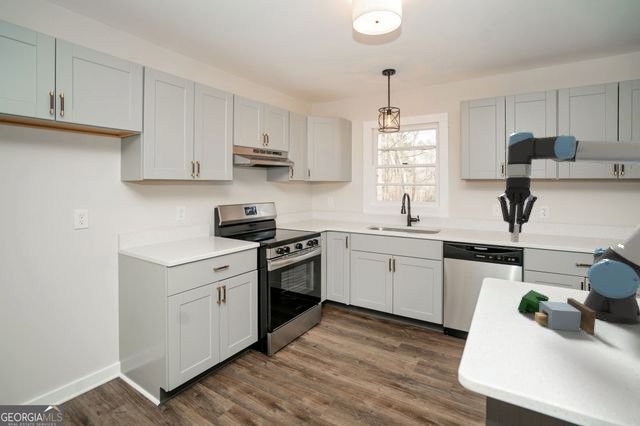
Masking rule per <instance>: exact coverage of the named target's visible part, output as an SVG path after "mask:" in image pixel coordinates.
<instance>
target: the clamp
mask: <svg viewBox="0 0 640 426" xmlns="http://www.w3.org/2000/svg"><path fill="white" fill-rule="evenodd" d="M549 299H550V298H549V297H548V296H547V295H545V294H542V293H540V292H537V291H536V290H534V289H533V290H532V289H530V290H529V291H528V292H526V294H524V295H523V296H522V297H521V300H520V302H519V305H518V307H517V311H520V312H522V313H526V312H527V311H530V312H532V313H534V314H535V312H537V313H539V306H540V301H547V302H549Z"/></svg>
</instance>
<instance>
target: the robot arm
mask: <svg viewBox="0 0 640 426" xmlns="http://www.w3.org/2000/svg"><path fill="white" fill-rule="evenodd" d="M533 160H536V161H537V160H552V161H553V162H556V163H558V162H559V163H564V162H565V163H566V162H567V163H569V162H570V163H589V164H591V163H592V164H593V163H594V164H608V165H625V166H626V165H627V166H629V165H630V166H640V141H639V140H638V141H637V140H635V141H634V140H633V141H632V140H630V141H629V140H627V141H626V140H625V141H624V140H621V141H620V140H576V137H575V136H574V135H555V136H546V137H534V133H533V132H531V131H530V132H529V131H526V132H515V133H512V134H510V135H509V138H508V144H507V165H506V177H507V178H506V179H505V180H506V181H505V190H504V193H503V194H501V195H498V196H497V199H498V202H500V208H501V214H502V219H503V221H504V222H505V223H507V224H508V232H509V233H510V242H512V243H519V236H520V234H521V233H522V231H523V230H522V228H523V227H522V226H523V225H524V224H525V223H528V222H529V219H530V216H531V213H532V210H533V207H534V204H535V202H536V201H537V200H538V196H536V195H535V196H534V195H533V194H532V193H531V190H530V188H531V177H530V176H532V161H533ZM507 200H508V202H507ZM526 201H527V202H526ZM525 204H526V205H525ZM508 205H509V209H508ZM592 256H593V261H592V262H593V263H592V265H591V266H590V267H589V268H588V271H587V280H588V283H589V285H590V291H589V293H588V294H587V296H586V298H585V299H584V302H583V303H582V304H583V305H585V306H587V307H588V308H590V309H592V310H593V311H595V312H596V317H595V319H596V318H597V319H600V320H604V321H607V322H611V323H616V324H624V325H636V324H640V307H639V303H638V301H637V292H638V289H639V288H640V223H638V225H637V226H636V227H635V228H634V229H633V230H632V231H631V232H630V233H629V234H628V235H627V237H625V239H623V241H622V242H621V243H619V244H613V245H610V246H609V247H608V248H604V247H596V248H595V249H594V252H593V255H592Z"/></svg>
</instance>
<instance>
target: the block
mask: <svg viewBox="0 0 640 426" xmlns="http://www.w3.org/2000/svg"><path fill="white" fill-rule="evenodd" d="M539 313H548V314H549V315H548V325H547V327H548V328H550V329H551V330H562V331H573V332H574V331H575V332H576V331H577V332H580V331H581V329H580V320H581V312H580V311H579V310H577V309H576V308H574V307H572V306H571V305H569V304H568V303H567V302H561V301H560V302H559V301H548V302H547V301H540V306H539Z"/></svg>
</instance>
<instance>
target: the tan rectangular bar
mask: <svg viewBox="0 0 640 426" xmlns="http://www.w3.org/2000/svg"><path fill="white" fill-rule="evenodd" d="M548 315H549V314H548V313H537V312H535V313H534V321H535V322H536V323H537V324H538V325H542V326H548Z"/></svg>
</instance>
